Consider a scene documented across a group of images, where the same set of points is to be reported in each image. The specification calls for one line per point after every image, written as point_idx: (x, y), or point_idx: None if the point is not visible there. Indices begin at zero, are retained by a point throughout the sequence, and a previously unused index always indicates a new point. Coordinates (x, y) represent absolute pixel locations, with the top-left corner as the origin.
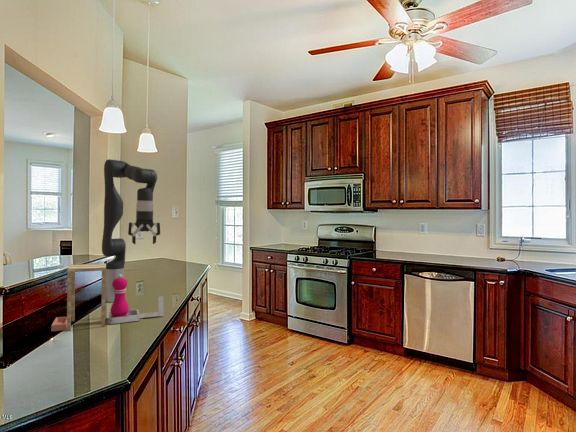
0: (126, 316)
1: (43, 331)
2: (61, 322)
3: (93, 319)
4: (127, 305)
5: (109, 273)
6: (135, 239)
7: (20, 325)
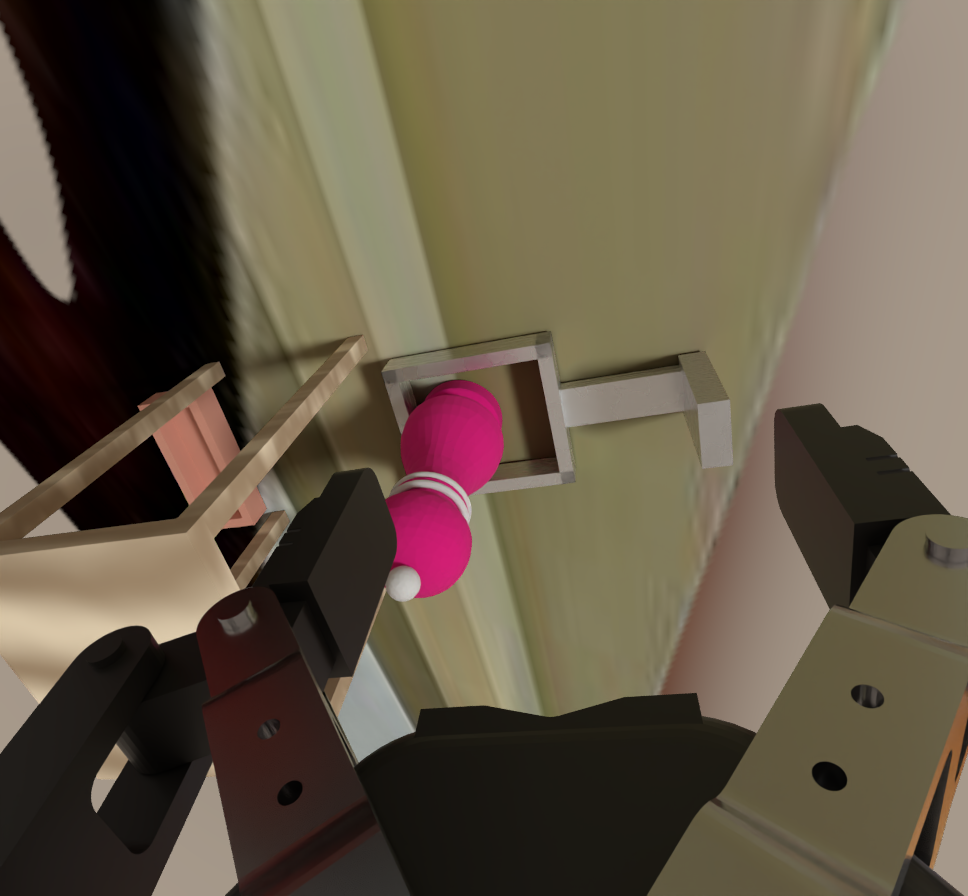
0: (505, 490)
1: (182, 504)
2: (185, 414)
3: (312, 364)
4: (493, 465)
5: None
6: (370, 619)
7: (9, 387)
